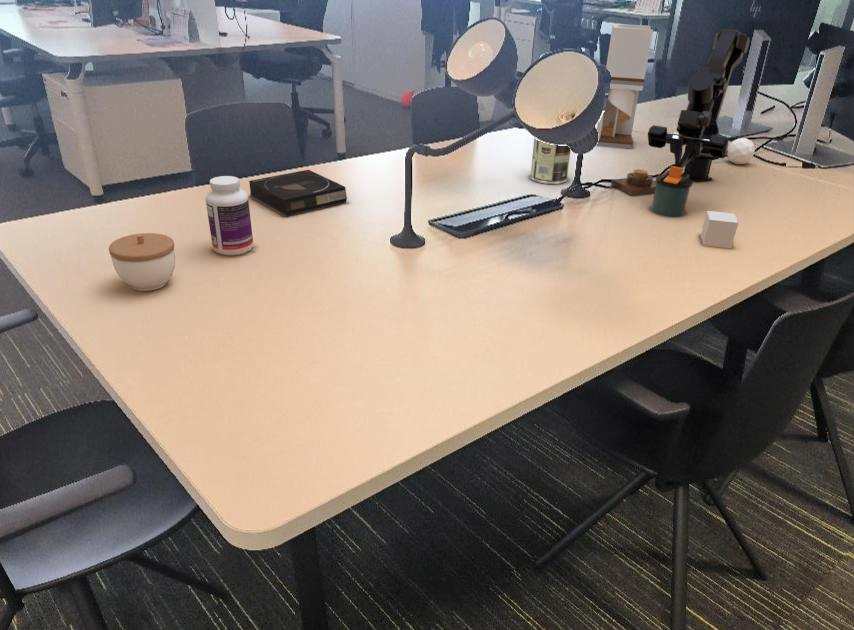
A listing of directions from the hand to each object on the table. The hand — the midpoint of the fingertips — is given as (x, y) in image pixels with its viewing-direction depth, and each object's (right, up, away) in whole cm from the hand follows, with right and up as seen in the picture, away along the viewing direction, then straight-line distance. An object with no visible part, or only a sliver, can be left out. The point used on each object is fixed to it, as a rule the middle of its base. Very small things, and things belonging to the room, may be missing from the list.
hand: (676, 171), depth 170 cm
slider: (-1, -2, -1) cm, 3 cm away
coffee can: (-28, +4, +24) cm, 37 cm away
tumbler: (-1, -9, +5) cm, 10 cm away
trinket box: (-110, -31, -42) cm, 122 cm away
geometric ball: (+34, +14, +46) cm, 58 cm away
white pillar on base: (-1, +24, +60) cm, 65 cm away
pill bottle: (-99, -23, -27) cm, 105 cm away
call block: (-4, 0, +19) cm, 20 cm away
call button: (-4, +3, +18) cm, 18 cm away
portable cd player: (-92, -7, 0) cm, 92 cm away
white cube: (+5, -19, -12) cm, 23 cm away
